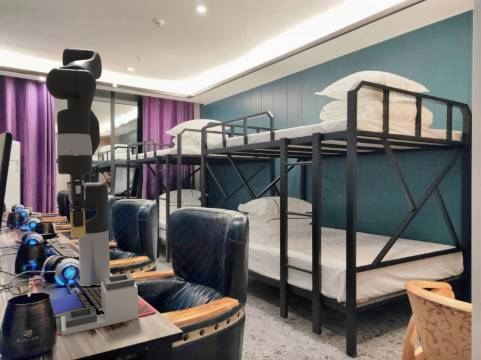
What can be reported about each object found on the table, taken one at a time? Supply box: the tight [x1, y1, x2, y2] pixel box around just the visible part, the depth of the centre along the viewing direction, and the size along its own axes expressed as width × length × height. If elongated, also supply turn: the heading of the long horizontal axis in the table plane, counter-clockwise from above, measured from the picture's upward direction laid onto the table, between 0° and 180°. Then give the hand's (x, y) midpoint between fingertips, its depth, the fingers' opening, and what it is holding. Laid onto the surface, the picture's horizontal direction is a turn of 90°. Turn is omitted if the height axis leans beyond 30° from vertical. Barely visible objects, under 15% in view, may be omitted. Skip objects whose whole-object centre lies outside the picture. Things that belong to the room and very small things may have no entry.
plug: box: [69, 202, 86, 239], centre depth 83 cm, size 3×3×8 cm
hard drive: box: [50, 293, 83, 318], centre depth 95 cm, size 2×8×12 cm
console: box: [60, 272, 140, 336], centre depth 85 cm, size 9×17×10 cm, turn 118°
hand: (77, 225), depth 83 cm, fingers closed on plug, 3 cm apart
